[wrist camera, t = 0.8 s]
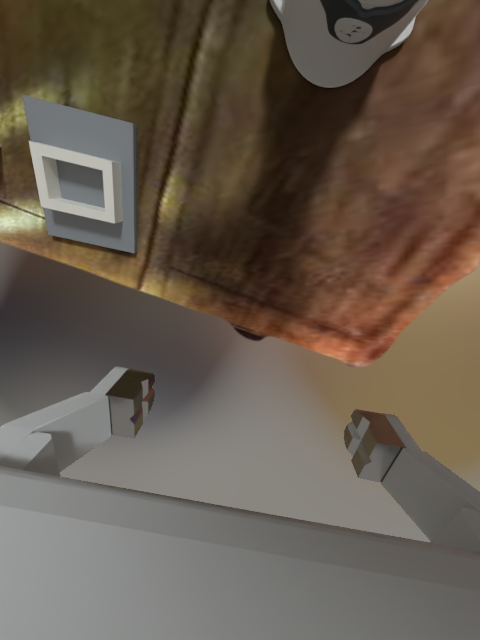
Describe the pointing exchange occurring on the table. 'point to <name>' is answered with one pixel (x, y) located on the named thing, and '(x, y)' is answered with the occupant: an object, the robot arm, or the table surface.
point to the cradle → (85, 174)
